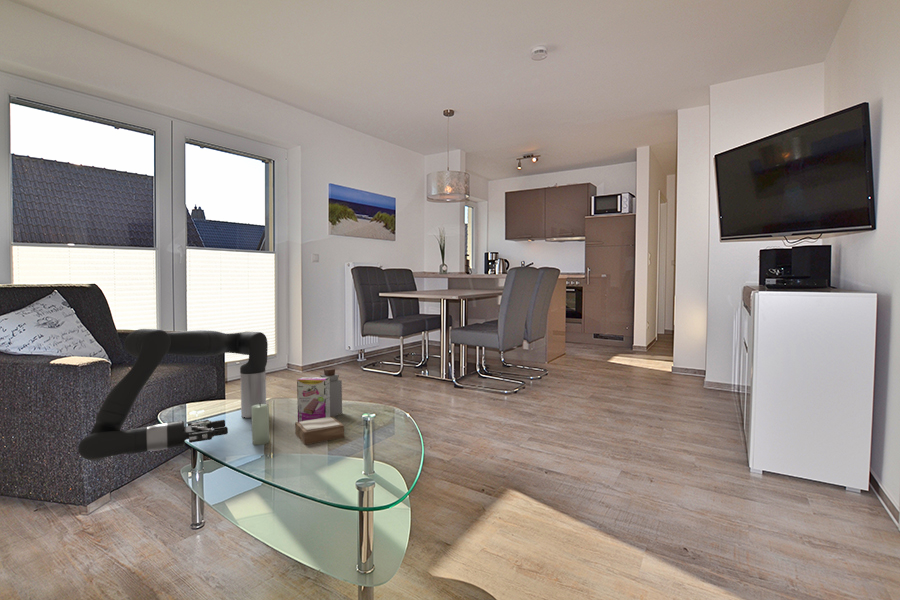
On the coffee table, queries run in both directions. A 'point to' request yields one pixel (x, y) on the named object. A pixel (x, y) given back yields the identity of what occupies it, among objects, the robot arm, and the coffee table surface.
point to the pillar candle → (260, 424)
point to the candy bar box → (313, 398)
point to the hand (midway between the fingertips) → (226, 426)
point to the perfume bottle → (334, 391)
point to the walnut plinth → (319, 430)
